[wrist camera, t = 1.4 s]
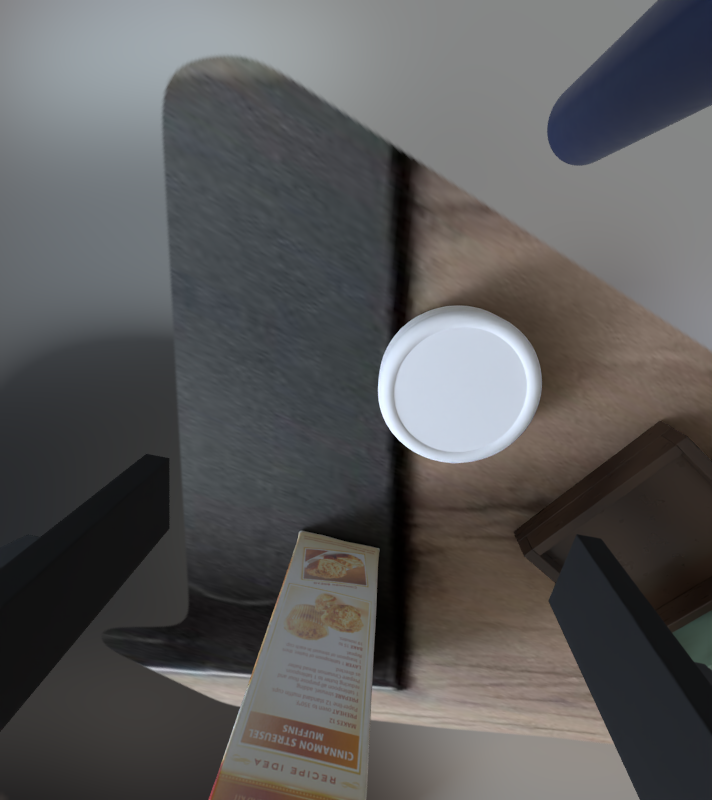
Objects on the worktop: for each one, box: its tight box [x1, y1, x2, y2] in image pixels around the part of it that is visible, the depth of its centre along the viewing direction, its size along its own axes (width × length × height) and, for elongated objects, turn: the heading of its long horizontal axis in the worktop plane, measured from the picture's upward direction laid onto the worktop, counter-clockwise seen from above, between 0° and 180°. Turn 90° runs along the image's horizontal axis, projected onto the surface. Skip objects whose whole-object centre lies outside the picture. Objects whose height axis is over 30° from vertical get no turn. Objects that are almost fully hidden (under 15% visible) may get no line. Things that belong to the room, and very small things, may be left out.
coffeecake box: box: [209, 530, 380, 800], centre depth 26 cm, size 15×7×20 cm, turn 169°
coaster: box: [378, 305, 542, 463], centre depth 26 cm, size 10×10×4 cm
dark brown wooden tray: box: [514, 421, 712, 670], centre depth 29 cm, size 13×25×5 cm, turn 49°
